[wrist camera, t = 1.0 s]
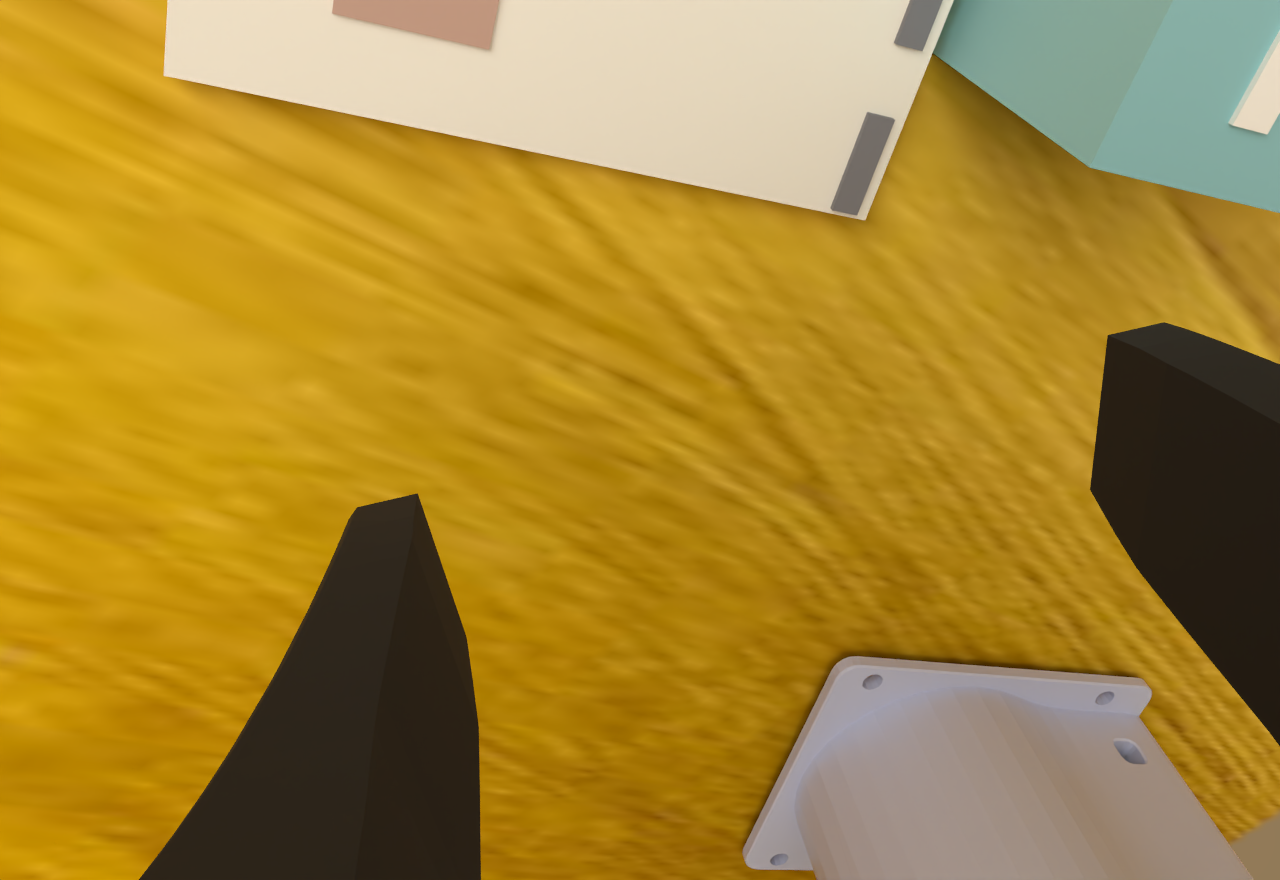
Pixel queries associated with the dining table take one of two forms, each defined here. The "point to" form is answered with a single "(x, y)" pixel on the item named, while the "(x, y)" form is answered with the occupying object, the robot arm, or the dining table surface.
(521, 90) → the white card
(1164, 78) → the teal rectangular block
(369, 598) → the robot arm
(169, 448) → the dining table surface
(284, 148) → the dining table surface
